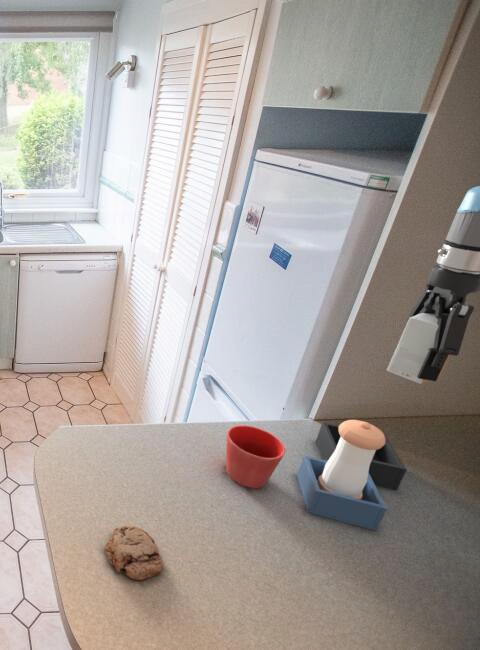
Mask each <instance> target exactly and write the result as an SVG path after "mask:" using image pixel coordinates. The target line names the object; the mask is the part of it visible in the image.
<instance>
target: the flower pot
mask: <svg viewBox="0 0 480 650" xmlns="http://www.w3.org/2000/svg"><path fill="white" fill-rule="evenodd" d="M285 453H286V448H285V446H284V443H283V442H282V441H281V440H280V439H279V438H278V437H277V436H275V435H274V434H272V433H270V432H269V431H267V430H264V429H262V428H260V427H256V426H253V425H243V424H241V425H240V424H239V425H235V426H232V427H230V428H229V429H228V430H227V431H226V449H225V460H226V462H225V463H226V464H225V466H226V467H225V470H226V473H227V475H228V477H230V479H231V480H233V481H235V482H236V483H237V484H239V485H240V486H244V487H245V488H246V487H248V488H250V489H259V488H262V487H264V486H265V485H266V484H267V482H268V481H269V480H270V478H271V477H272V475H273V474H274V472H275V470H276V469H277V467H278V466H279V464H280V462H281V460H282V459H283V457H284V455H285Z"/></svg>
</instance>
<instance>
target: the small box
mask: <svg viewBox="0 0 480 650" xmlns="http://www.w3.org/2000/svg"><path fill="white" fill-rule="evenodd" d="M437 321H438V319H437V318H436V317H435V314H429V313H421V314H418V315H416V316H413V317H410V318H409V320H408V321H407V322H406V325H405V326H404V329H403V331H402V334H401V336H400V339H399V340H398V343H397V346H396V347H395V350H394V353H393V354H392V356H391V359H390V361H389V364H388V366H387V368H386V371H387V372H389V373H391V374H395V375H396V376H399V377H402V378H404V379H406V380H409V381H412V382H414V383H416V384H419V385H423V384H426V383H427V382H429V381H430V380H425V379H419V378H418V377H417V376H418V374H419V372H420V370H421V367H422V365H423V363H424V361H425V359H426V357H427V354H428V352H429V350H428V348H434V342H435V335H436V331H437V329H438V325H437ZM450 357H451V355H448V357H447V359H446V361H445V364H444V366H443V368H442V370H441V372H440V374H439V376H438V377H440V376H441V375H442V372H443V371H444V369H445V366H446V365H447V363H448V360H449V359H450Z"/></svg>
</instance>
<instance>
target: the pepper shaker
mask: <svg viewBox="0 0 480 650" xmlns="http://www.w3.org/2000/svg"><path fill="white" fill-rule="evenodd" d="M339 434H340V436H341V437H340V440H339V442H338V445H337V447H336V450H335V451H334V453H333V454H332V456H331V457H330V459H329V460H328V461H327V463H326V465H325V468H324V471H323V474H322V475H320V476H319V477H318V480H317V483H318V485H319V488H320V489H321V490H325V491H329V492H333V493H337V494H340V495H344V496H348V497H352V498H356V499H360V500H361V499H362V496H363V493H362V490H363V488H364V486H365V484H366V482H367V477H368V472H369V466H370V463H371V461H372V458H373V456H374V454H375V451H376V450H377V449H380V448H381V447H383V446H384V445H385V436H384V435H385V434H384V433H383V431H382V430H381V429H380V428H378V427H376V426H375V425H373V424H371V423H369V422H367V421H362V420H359V419H348V420H345V421H343V422H341V423H340V424H339Z"/></svg>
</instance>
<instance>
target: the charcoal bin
mask: <svg viewBox="0 0 480 650" xmlns="http://www.w3.org/2000/svg"><path fill="white" fill-rule="evenodd" d="M339 426H340V424H339V425H338V424H333V423H330V422H329V423H328V422H324V421H322V423H321V426H320V428H319V431H318V433H317V436H316V439H315V443H316V446H317V449H318V451H319V454H320V456H321V459H322V460H326V461H328V460H329V459H330V457H331V456H332V454H333V453H334V451H335V450H336V447H337V445H338V442H339V440H340V437H341V436H340V434H339ZM384 436H385V445H384V446H383V447H381V448H380V449H377V450H376V451H375V454H374V456H373V458H372V461H371V463H370V466H369V474H370V476H371V478H372V480H373V482H374V484H375V486H376V487H381V488H383V489H384V488H385V489H389V490H392V491H398V489H399V486H400V485H401V482H402V481H403V478H404V476H405V475H406V472H407V467H406V466H405V464H404V463H403V461H402V459H401V458H400V456H399V454H398V453H397V451H396V449H395V447H394V446H393V445H392V443H391V441H390V440H389V438H388V436H387V435H386V434H384Z"/></svg>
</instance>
